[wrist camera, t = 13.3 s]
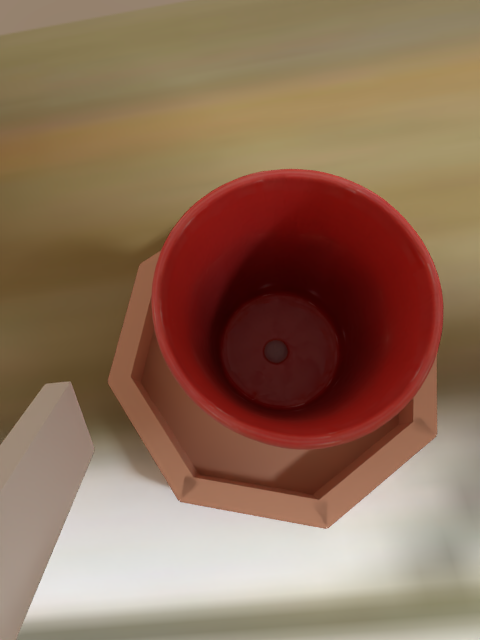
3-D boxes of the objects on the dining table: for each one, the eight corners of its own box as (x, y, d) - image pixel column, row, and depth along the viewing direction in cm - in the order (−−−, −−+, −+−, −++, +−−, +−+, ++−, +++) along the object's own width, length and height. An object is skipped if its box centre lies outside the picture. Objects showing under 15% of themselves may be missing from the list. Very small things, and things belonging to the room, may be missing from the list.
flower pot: (185, 445, 21) (133, 447, 12) (195, 271, 24) (161, 166, 15) (373, 448, 21) (472, 452, 11) (356, 270, 24) (421, 163, 15)
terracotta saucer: (481, 385, 22) (512, 377, 20) (240, 587, 19) (239, 610, 17) (295, 187, 27) (300, 160, 25) (80, 325, 24) (59, 310, 22)
